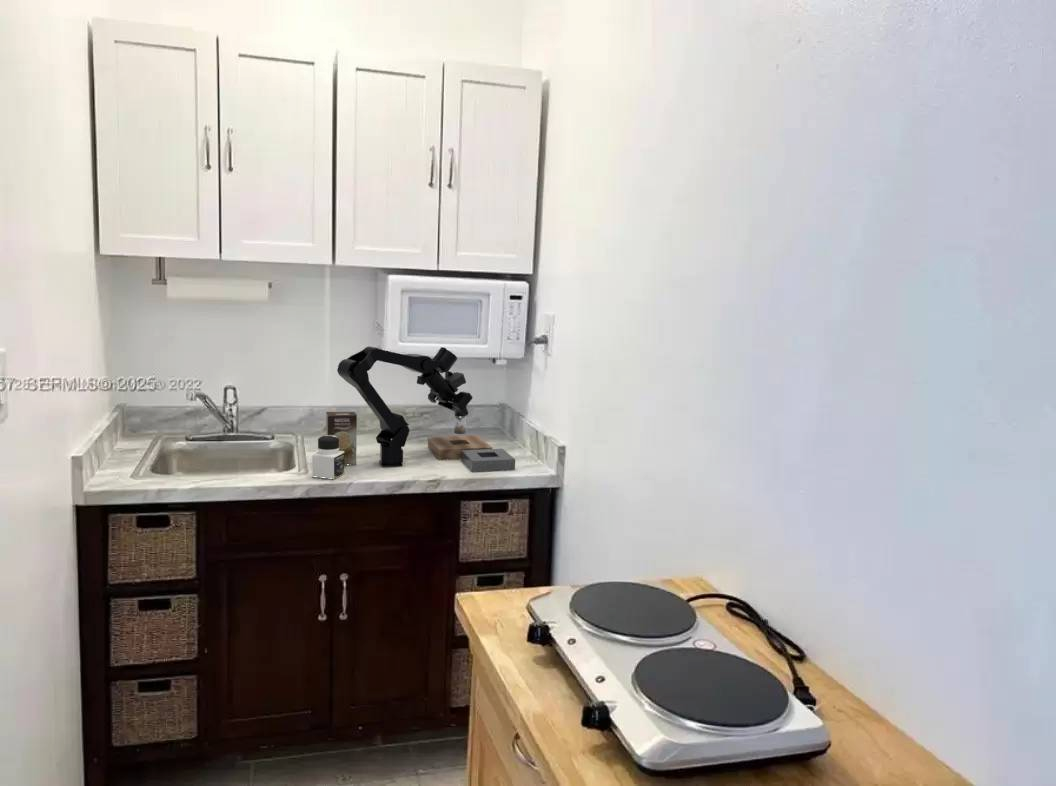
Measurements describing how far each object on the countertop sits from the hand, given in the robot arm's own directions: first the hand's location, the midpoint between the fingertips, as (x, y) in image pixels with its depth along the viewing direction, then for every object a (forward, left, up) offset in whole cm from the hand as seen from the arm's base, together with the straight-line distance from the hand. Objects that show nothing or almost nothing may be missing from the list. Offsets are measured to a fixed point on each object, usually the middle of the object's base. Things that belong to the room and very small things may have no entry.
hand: (463, 413), depth 270 cm
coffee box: (-41, -7, -14) cm, 44 cm away
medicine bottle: (-46, -21, -14) cm, 53 cm away
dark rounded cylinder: (-1, -1, -7) cm, 7 cm away
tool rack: (-1, 0, -13) cm, 13 cm away
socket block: (+4, -18, -13) cm, 23 cm away
